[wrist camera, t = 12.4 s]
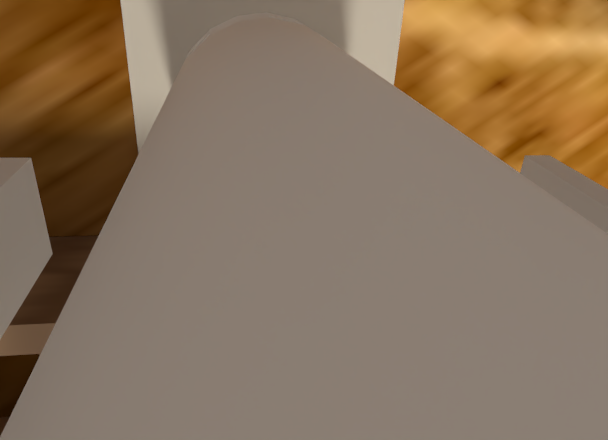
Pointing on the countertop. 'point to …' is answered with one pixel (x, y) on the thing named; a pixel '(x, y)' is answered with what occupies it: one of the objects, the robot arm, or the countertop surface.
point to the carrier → (46, 299)
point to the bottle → (323, 272)
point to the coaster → (229, 3)
